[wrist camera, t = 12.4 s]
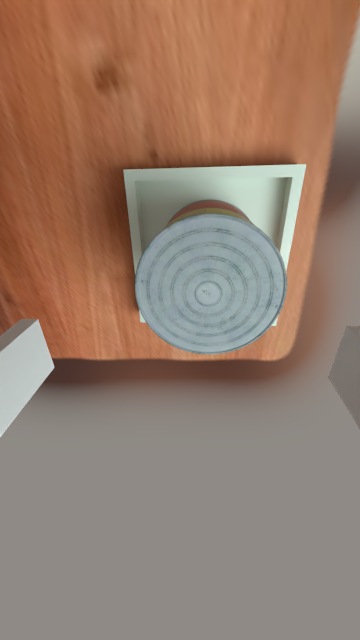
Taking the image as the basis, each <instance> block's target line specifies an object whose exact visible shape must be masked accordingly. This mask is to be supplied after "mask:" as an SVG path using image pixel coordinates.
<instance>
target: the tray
mask: <svg viewBox="0 0 360 640" xmlns="http://www.w3.org/2000/svg"><path fill="white" fill-rule="evenodd" d="M305 169H306V164H295V165H261V166H228V167H194V168H161V169H127V170H123V172H124V181H125V190H126V198H127V207H128V216H129V225H130V234H131V242H132V251H133V260H134V269H135V274H136V269H137V266H138V263H139V260H140V258H141V255H142V254H143V252H144V250H145V248H146V247H147V246H148V244H149V243H150V242H151V241H152V239H153V238H154V237H155V236H156V235H157V234H158V233H159V232H160V231H162V230H163V229H164V228H165V226H166V225H167V223H168V222H169V221H170V219H171V218H172V217H173V216H174V215H175V214H176V213H177V212H178V211H179V210H180V209H182V208H183V207H185V206H187V205H189V204H191V203H193V202H196V201H200V200H207V199H214V200H221V201H225V202H228V203H230V204H232V205H234V206H236V207H237V208H239V209H240V210H241V211H242V212H244V213H245V214H246V216H247V217H248V218H249V219H250V221H251V222H252V223H253V224H254V225H255V226H257V227H258V228H259V229H261V230H262V231H263V232H264V233H265V234H266V235H267V236H268V237H269V238H270V239H271V240H272V241H273V243H274V244H275V246H276V247H277V249H278V250H279V252H280V254H281V256H282V259H283V261H284V265H285V269H286V270H287V264H288V259H289V254H290V248H291V243H292V238H293V232H294V227H295V222H296V216H297V211H298V206H299V200H300V195H301V190H302V185H303V179H304V174H305ZM139 313H140V322H146V321H145V320H144V318H143V316H142V315H141V312H140V310H139ZM277 318H278V317H277ZM276 323H277V319H276V320H275V322H274V323H273V324H272V325H271V326H276Z"/></svg>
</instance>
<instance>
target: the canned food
mask: <svg viewBox="0 0 360 640" xmlns="http://www.w3.org/2000/svg"><path fill="white" fill-rule="evenodd" d="M286 291H287V275H286V269H285V265H284V261H283V259H282V256H281V254H280V252H279V250H278V249H277V247H276V246H275V244H274V243H273V241H272V240H271V239H270V238H269V237H268V236H267V235H266V234H265V233H264V232H263V231H262V230H261V229H259V228H258V227H257V226H255V225H254V224H253V223H252V222H251V221H250V219H249V218H248V217H247V216H246V214H245V213H244V212H242V211H241V210H240V209H239V208H237V207H236V206H234V205H232V204H230V203H228V202H225V201H221V200H214V199H207V200H200V201H196V202H193V203H191V204H189V205H187V206H185V207H183V208H182V209H180V210H179V211H178V212H177V213H176V214H175V215H174V216H173V217H172V218H171V219H170V221H169V222H168V223H167V225H166V226H165V228H164V229H163V230H162V231H160V232H159V233H158V234H157V235H156V236H155V237H154V238H153V239H152V241H151V242H150V243H149V244H148V246H147V247H146V248H145V250H144V252H143V254H142V255H141V258H140V260H139V263H138V266H137V269H136V274H135V296H136V301H137V304H138V307H139V310H140V312H141V315H142V316H143V318H144V320H145V321H146V323H147V324H148V326H149V327H150V328H151V329H152V330H153V331H154V332H155V333H156V334H157V335H158V336H159V337H160V338H161V339H163V340H164V341H166V342H167V343H169V344H171V345H172V346H174V347H177V348H179V349H182V350H184V351H188V352H192V353H197V354H209V355H210V354H222V353H227V352H231V351H235V350H238V349H240V348H243V347H245V346H247V345H249V344H250V343H252V342H254V341H255V340H257V339H258V338H259V337H261V336H262V335H263V334H264V333H265V332H266V331H267V330H268V329H269V328H270V327H271V325H272V324H273V323H274V322H275V320H276V319H277V317H278V315H279V313H280V311H281V309H282V307H283V304H284V301H285V297H286Z"/></svg>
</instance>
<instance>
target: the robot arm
mask: <svg viewBox="0 0 360 640" xmlns="http://www.w3.org/2000/svg"><path fill="white" fill-rule="evenodd" d="M53 368H54V365H53V362H52V359H51V356H50V353H49V350H48V347H47V344H46V341H45V338H44V336H43V333H42V330H41V327H40V324H39V321H38V319H21V320H20V321H18V322H17V323H16V324H15V325H13V326H12V327H11V328H10V329H8V330H7V331H6V332H5V333H3V334H2V335H1V336H0V437H1V436H2V434H3V433H4V432H5V431H6V429H7V428H8V427H9V425H10V424H11V423H12V421H13V420H14V419H15V418H16V416H17V415H18V414H19V412H20V411H21V410H22V409H23V407H24V406H25V405H26V403H27V402H28V401H29V399H30V398H31V397H32V395H33V394H34V393H35V392H36V390H37V389H38V388H39V387H40V385H41V384H42V383H43V381H44V380H45V379H46V377H47V376H48V375H49V374H50V372H51V371H52V370H53ZM329 379H330V381H331V383H332V384H333V386H334V388H335V389H336V391H337V393H338V394H339V396H340V397H341V399H342V401H343V402H344V404H345V406H346V407H347V409H348V410H349V412H350V414H351V415H352V417H353V419H354V420H355V422H356V423H357V425H358V427H359V428H360V326H347V327H346V329H345V332H344V335H343V338H342V340H341V343H340V346H339V349H338V352H337V354H336V357H335V360H334V363H333V366H332V369H331V371H330V374H329Z"/></svg>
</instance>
